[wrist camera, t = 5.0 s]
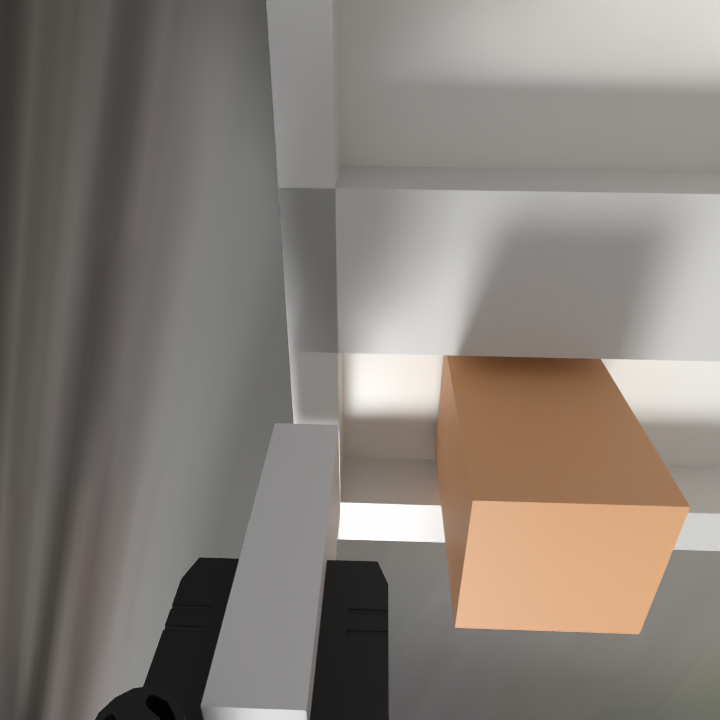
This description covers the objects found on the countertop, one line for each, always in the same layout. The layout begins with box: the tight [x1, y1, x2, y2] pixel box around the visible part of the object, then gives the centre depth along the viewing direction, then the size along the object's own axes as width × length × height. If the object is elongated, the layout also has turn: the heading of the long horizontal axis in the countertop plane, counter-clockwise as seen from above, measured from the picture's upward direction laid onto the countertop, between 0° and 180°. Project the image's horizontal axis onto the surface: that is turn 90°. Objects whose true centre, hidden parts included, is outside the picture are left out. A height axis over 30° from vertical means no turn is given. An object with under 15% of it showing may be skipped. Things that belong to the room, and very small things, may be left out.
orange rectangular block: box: [435, 355, 690, 634], centre depth 15 cm, size 4×4×6 cm
